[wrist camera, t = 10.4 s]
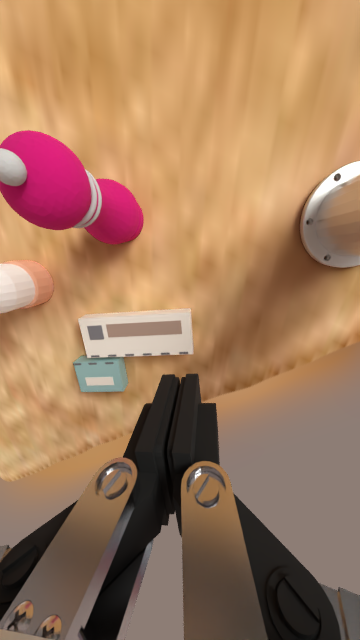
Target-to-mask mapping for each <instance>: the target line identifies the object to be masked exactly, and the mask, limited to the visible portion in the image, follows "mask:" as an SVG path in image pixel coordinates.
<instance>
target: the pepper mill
mask: <svg viewBox="0 0 360 640" xmlns="http://www.w3.org/2000/svg"><path fill="white" fill-rule="evenodd" d="M0 191H1V193H2V195H3V197H4V198H5V200H6V201H7V203H8V204H9V205H10V206H11V208H12V209H13V210H14V211H15V212H17V213H18V214H19V215H20V216H21V217H23V218H24V219H26V220H27V221H29V222H30V223H33V224H35V225H37V226H39V227H42V228H46V229H52V230H64V229H69V228H71V227H73V228H85V229H86V230H87V231H88V232H89V233H90V234H91V235H92V236H93V237H94V238H96V239H98V240H99V241H102V242H104V243H108V244H120V243H123V242H128V241H131V240H133V239H135V238H136V237H137V236H138V235H139V234H140V232H141V230H142V227H143V213H142V210H141V208H140V206H139V205H138V203H137V202H136V200H135V198H134V196H133V195H132V193H131V192H130V191H129V190H128V189H127V188H126V187H125V186H123V185H121V184H120V183H118V182H116V181H114V180H110V179H96V180H95V178H94V177H93V176H92V175H91V174H90V173H89V172H88V171H87V170H86V169H84V166H83V165H82V163H81V162H80V160H79V159H78V157H77V156H76V155H75V154H74V153H73V152H72V151H71V150H70V149H69V148H68V147H67V146H65V145H64V144H63V143H62V142H60V141H58V140H57V139H55V138H53V137H51V136H49V135H46V134H44V133H41V132H36V131H29V130H28V131H20V132H16V133H14V134H12V135H10V136H8V137H7V138H6V139H5V140H4V141H3V142H2V144H1V145H0Z"/></svg>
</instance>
